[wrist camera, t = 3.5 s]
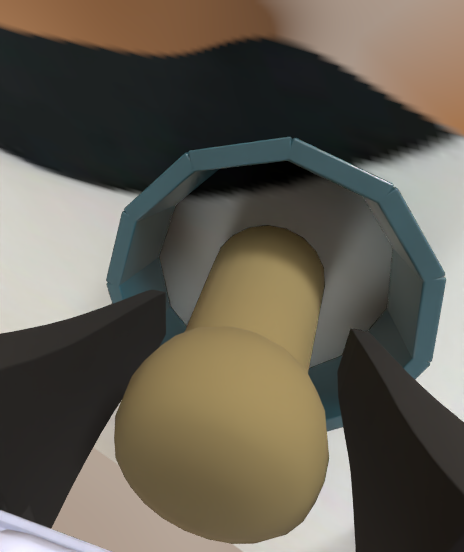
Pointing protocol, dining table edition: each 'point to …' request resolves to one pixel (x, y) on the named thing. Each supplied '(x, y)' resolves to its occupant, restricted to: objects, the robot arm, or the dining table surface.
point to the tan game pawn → (234, 399)
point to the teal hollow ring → (376, 191)
